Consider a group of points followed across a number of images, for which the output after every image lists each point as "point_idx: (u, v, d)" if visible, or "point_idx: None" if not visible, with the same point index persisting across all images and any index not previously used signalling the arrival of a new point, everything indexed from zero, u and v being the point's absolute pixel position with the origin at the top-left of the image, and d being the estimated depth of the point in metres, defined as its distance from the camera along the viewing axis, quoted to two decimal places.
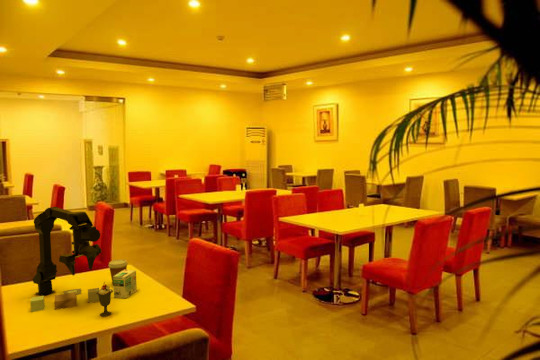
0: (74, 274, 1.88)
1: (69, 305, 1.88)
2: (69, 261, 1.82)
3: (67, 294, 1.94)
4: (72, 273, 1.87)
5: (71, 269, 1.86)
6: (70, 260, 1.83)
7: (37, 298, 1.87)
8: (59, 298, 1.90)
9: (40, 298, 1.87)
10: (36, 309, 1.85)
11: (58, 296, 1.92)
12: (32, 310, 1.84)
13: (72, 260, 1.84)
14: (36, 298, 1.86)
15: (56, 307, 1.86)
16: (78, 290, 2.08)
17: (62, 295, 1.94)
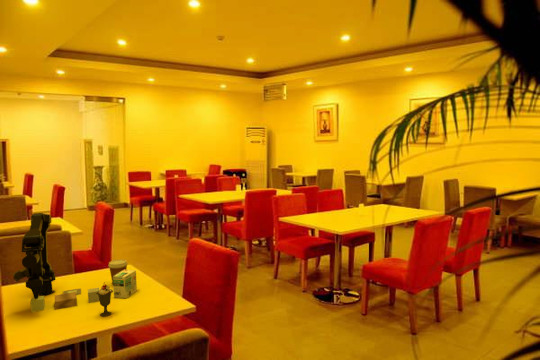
0: None
1: (69, 305, 1.89)
2: None
3: (67, 294, 1.94)
4: None
5: None
6: None
7: None
8: (60, 298, 1.90)
9: (40, 298, 1.87)
10: (36, 309, 1.85)
11: (58, 296, 1.92)
12: (32, 310, 1.84)
13: None
14: None
15: (56, 307, 1.86)
16: (78, 290, 2.08)
17: (62, 295, 1.94)
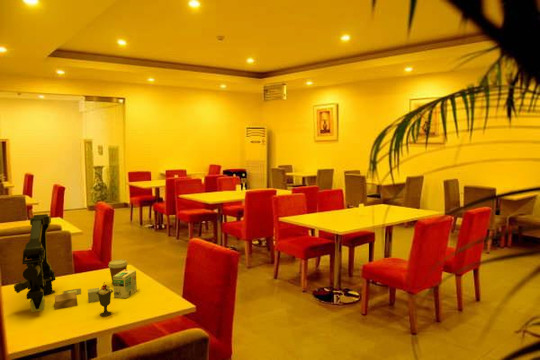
0: None
1: (70, 305, 1.89)
2: None
3: (66, 294, 1.94)
4: None
5: None
6: None
7: None
8: (60, 298, 1.90)
9: None
10: (36, 309, 1.85)
11: (58, 296, 1.92)
12: (32, 310, 1.84)
13: None
14: None
15: (57, 307, 1.86)
16: (78, 290, 2.08)
17: (62, 295, 1.94)
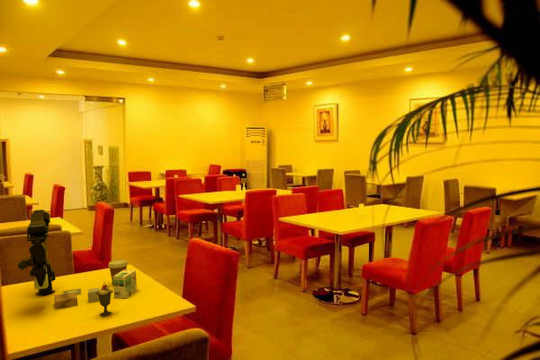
0: None
1: (70, 305, 1.89)
2: None
3: (66, 294, 1.94)
4: None
5: None
6: None
7: None
8: (60, 298, 1.89)
9: None
10: (39, 287, 1.84)
11: (58, 296, 1.92)
12: (35, 287, 1.84)
13: None
14: None
15: (57, 307, 1.86)
16: (78, 290, 2.08)
17: (62, 295, 1.93)
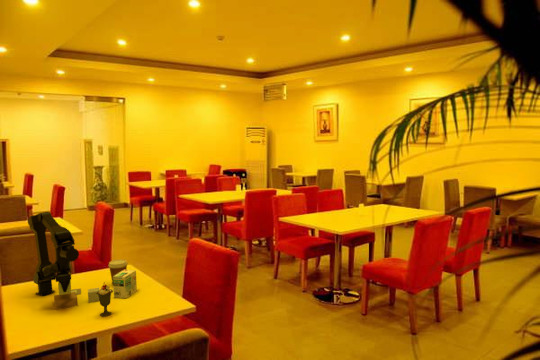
0: None
1: (70, 305, 1.89)
2: None
3: (66, 294, 1.94)
4: None
5: None
6: None
7: None
8: (60, 298, 1.89)
9: None
10: (63, 292, 1.89)
11: (58, 296, 1.92)
12: (60, 293, 1.88)
13: None
14: None
15: (57, 307, 1.86)
16: (78, 290, 2.08)
17: (62, 295, 1.93)
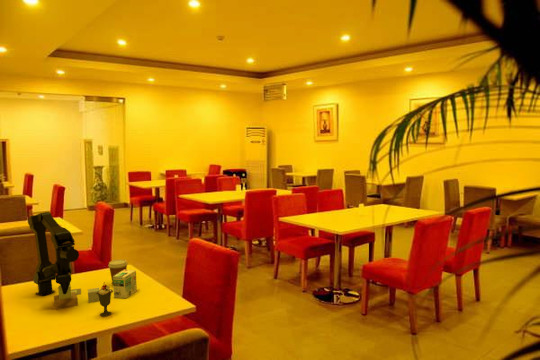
0: None
1: (70, 305, 1.89)
2: None
3: None
4: None
5: None
6: None
7: None
8: None
9: None
10: (64, 297, 1.89)
11: (58, 296, 1.92)
12: (60, 297, 1.88)
13: None
14: None
15: (57, 307, 1.86)
16: (78, 290, 2.08)
17: None
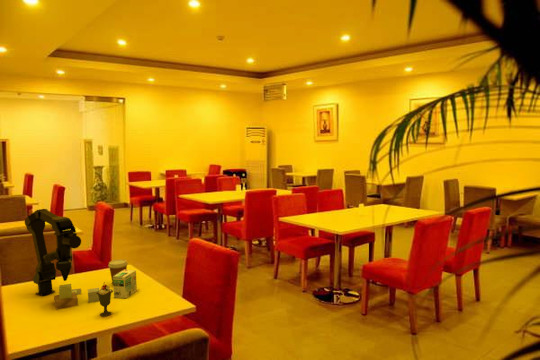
0: None
1: (70, 305, 1.89)
2: None
3: None
4: None
5: None
6: None
7: (65, 286, 1.91)
8: None
9: (68, 286, 1.91)
10: (64, 296, 1.89)
11: (58, 296, 1.92)
12: (60, 297, 1.88)
13: None
14: (64, 286, 1.91)
15: (58, 307, 1.86)
16: (78, 290, 2.08)
17: None
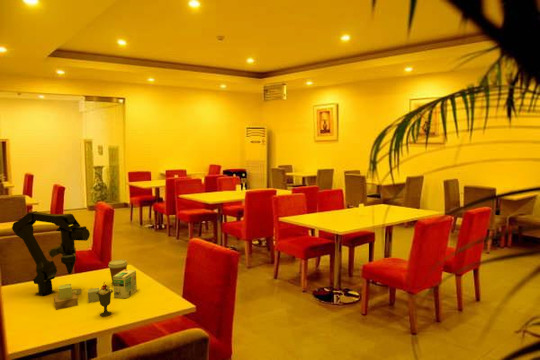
0: None
1: (70, 305, 1.89)
2: None
3: None
4: None
5: None
6: None
7: (65, 286, 1.91)
8: None
9: (68, 286, 1.91)
10: (64, 296, 1.89)
11: (58, 296, 1.92)
12: (60, 297, 1.88)
13: None
14: (64, 286, 1.91)
15: (57, 307, 1.86)
16: (78, 290, 2.08)
17: None
